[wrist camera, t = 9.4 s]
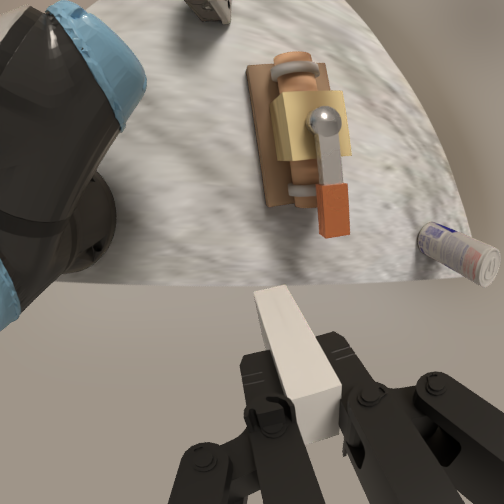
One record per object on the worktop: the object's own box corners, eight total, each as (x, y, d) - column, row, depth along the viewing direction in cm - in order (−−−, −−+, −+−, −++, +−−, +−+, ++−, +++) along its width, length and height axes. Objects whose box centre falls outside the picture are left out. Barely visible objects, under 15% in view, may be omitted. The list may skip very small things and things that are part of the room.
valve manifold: (266, 204, 37) (281, 218, 28) (245, 70, 31) (255, 44, 22) (337, 194, 37) (370, 205, 29) (319, 67, 31) (347, 45, 23)
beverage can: (420, 259, 43) (480, 296, 28) (412, 231, 41) (478, 263, 27) (441, 243, 42) (502, 273, 28) (435, 215, 40) (500, 240, 26)
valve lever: (343, 229, 29) (351, 234, 27) (316, 233, 29) (323, 238, 27) (332, 108, 25) (340, 105, 23) (303, 109, 25) (310, 105, 23)
